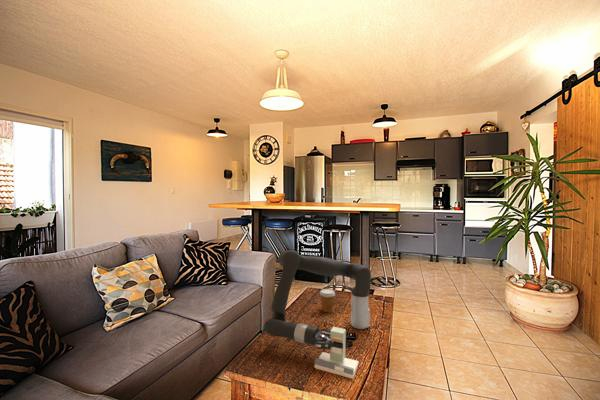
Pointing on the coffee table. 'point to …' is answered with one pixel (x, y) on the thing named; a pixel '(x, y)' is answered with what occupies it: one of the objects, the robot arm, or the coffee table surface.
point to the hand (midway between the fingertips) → (344, 343)
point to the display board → (336, 365)
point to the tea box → (338, 336)
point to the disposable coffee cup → (327, 299)
